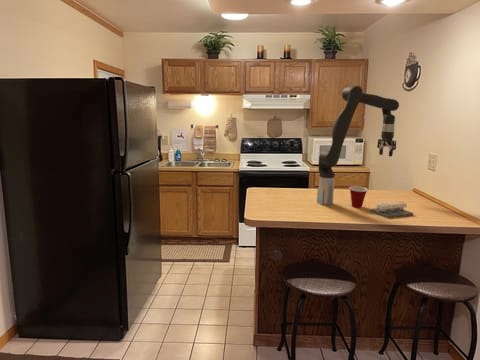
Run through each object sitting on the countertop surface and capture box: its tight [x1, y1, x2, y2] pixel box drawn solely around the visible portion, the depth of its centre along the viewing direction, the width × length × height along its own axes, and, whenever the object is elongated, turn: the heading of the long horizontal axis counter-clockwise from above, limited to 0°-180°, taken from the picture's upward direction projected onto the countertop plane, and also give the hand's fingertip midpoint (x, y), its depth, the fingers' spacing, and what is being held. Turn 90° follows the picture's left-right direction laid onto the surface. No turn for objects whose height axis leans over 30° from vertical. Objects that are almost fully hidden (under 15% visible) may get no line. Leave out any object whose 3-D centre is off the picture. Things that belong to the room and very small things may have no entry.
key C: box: [394, 200, 408, 210], centre depth 197 cm, size 5×5×4 cm
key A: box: [375, 202, 389, 212], centre depth 192 cm, size 5×5×4 cm
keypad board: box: [369, 207, 414, 219], centre depth 195 cm, size 18×14×4 cm
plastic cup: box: [349, 185, 368, 209], centre depth 207 cm, size 11×11×12 cm
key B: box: [385, 201, 398, 211], centre depth 194 cm, size 5×5×4 cm
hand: (385, 155), depth 225 cm, fingers open, 8 cm apart
